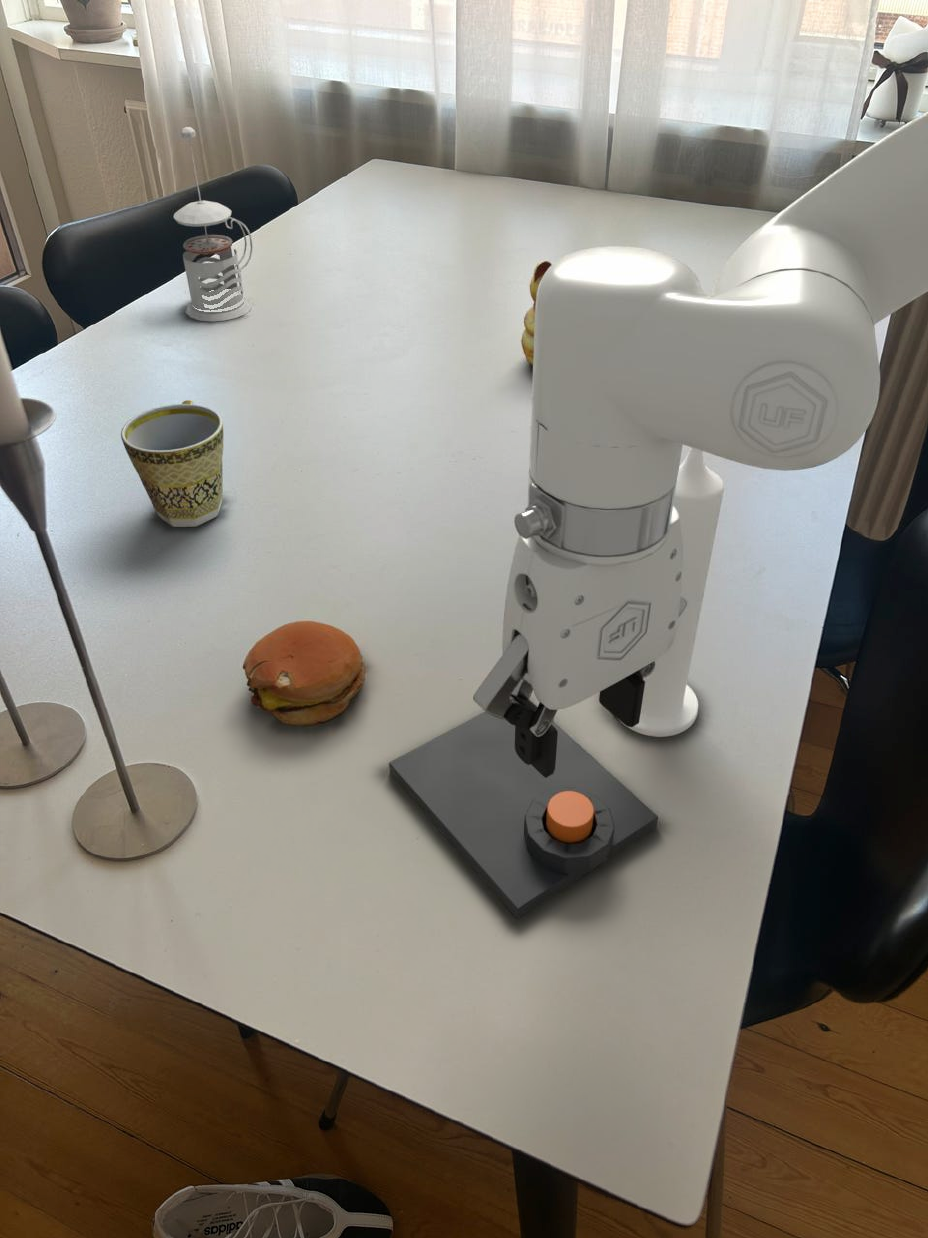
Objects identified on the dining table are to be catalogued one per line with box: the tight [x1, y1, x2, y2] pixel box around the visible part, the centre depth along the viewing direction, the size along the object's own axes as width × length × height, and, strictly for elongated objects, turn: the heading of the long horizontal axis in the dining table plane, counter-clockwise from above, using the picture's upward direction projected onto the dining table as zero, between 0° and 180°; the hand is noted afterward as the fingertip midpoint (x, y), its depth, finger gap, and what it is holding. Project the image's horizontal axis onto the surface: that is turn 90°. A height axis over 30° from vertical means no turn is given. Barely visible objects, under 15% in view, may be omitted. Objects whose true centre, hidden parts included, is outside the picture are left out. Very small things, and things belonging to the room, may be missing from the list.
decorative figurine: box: [520, 252, 572, 366], centre depth 125 cm, size 10×8×15 cm
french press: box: [173, 126, 253, 322], centre depth 138 cm, size 10×12×25 cm
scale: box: [388, 699, 659, 920], centre depth 71 cm, size 16×13×3 cm
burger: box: [242, 620, 366, 727], centre depth 81 cm, size 10×9×5 cm
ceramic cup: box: [120, 399, 224, 528], centre depth 101 cm, size 13×10×10 cm
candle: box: [619, 447, 725, 738], centre depth 72 cm, size 7×7×25 cm
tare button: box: [546, 791, 594, 843], centre depth 67 cm, size 3×3×2 cm
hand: (577, 735), depth 62 cm, fingers open, 6 cm apart
